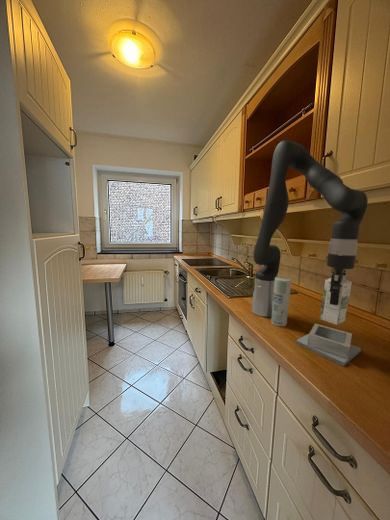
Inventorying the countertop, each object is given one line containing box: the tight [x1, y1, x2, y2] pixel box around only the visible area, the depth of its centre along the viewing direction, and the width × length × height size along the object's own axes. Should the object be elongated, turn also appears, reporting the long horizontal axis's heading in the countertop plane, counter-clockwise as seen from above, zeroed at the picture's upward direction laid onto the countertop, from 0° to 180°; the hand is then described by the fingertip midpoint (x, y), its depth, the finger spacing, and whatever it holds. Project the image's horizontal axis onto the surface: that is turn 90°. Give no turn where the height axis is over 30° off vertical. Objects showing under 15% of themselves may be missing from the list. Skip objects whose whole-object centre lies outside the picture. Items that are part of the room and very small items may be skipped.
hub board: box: [295, 333, 362, 367], centre depth 73 cm, size 15×14×1 cm
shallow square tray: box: [307, 323, 353, 359], centre depth 72 cm, size 11×11×4 cm
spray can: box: [270, 276, 292, 327], centre depth 90 cm, size 6×6×20 cm
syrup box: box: [319, 277, 352, 326], centre depth 70 cm, size 6×6×14 cm
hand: (335, 301), depth 70 cm, fingers closed on syrup box, 6 cm apart
